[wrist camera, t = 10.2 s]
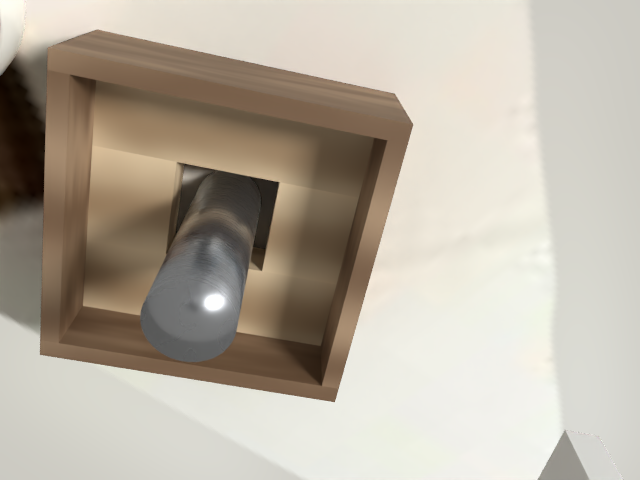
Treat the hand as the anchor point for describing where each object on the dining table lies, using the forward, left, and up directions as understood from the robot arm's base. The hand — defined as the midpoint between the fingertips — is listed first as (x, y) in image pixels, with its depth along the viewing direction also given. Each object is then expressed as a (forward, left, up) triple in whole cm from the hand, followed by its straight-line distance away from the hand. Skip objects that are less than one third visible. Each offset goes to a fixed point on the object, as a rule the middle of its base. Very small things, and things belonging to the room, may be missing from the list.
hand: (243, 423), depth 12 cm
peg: (+6, -3, -26) cm, 27 cm away
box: (+6, -3, -26) cm, 27 cm away
